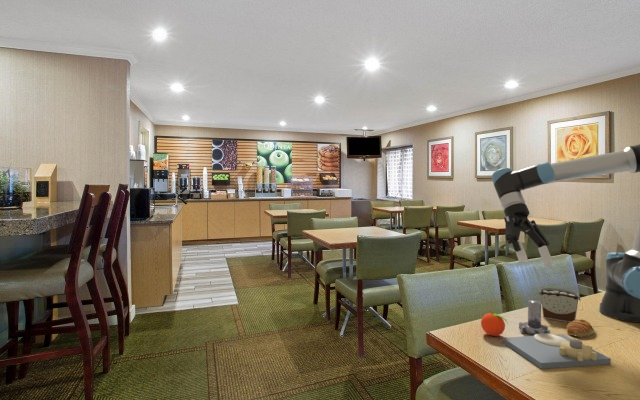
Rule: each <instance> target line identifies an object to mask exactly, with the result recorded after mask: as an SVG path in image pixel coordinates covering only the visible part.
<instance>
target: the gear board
mask: <svg viewBox="0 0 640 400" xmlns="http://www.w3.org/2000/svg"><path fill="white" fill-rule="evenodd" d="M502 343H503V345H506V346H507V347H509V348H510V349H512V350H513V351H515V352H516V353H518V354H519V355H520V356H522V357H524V359H526V360H527V361H529V362H530V363H532V364H534V365H535V366H536V367H538V368H540V370H542V369H555V368H556V369H557V368H559V369H560V368H570V367H571V368H574V367H575V368H576V367H587V366H602V365H603V366H604V365H605V366H606V365H611V364H612V363H611V360H612V359H611V357H608V356H607V355H604V354H603V353H601V352H599V351H597V350H595V349H593V346H592V345H589V344H587V345H586V344H584V343H583V341H581V340H579V339H573V338H571V337H570V336H567V335H565V334H561V333H560V334H552V333H550V334H546V333H539V334H535V335H534V336H532V335H526V336H524V335H523V336H509V337H508V336H506V337H502Z"/></svg>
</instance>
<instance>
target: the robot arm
mask: <svg viewBox="0 0 640 400" xmlns="http://www.w3.org/2000/svg"><path fill="white" fill-rule="evenodd" d="M623 172H624V173H625V172H629V173H631V174H635V173H640V143H639V144H636V145H632V146H626V147H625V148H624V149H623V150H618V151H613V152H608V153H603V154H602V153H601V154H596V155H593V156H592V155H590V156H586V157H580V158H575V159H570V160H565V161H559V162H553V163H552V162H551V163H550V162H548V161H544V162H541V163H537V164H534V165H531V166H528V167H525V168H522V169H519V170H514V171H513V170H512V168H510V167H502V168H499V169H496V170H495V171H493V173H492V174H491V179H492V183H493V187H494V189H495V192H496V194H497V197H498V199H499V201H500V204H501V207H502V209H503V212H504V215H505V217H504V218H503V219H504V223H505V228H504V229H505V240H506V241H507V243H508V244H509V245H512V247H513V249H514V251H515V254H516V257H517V259H518V262H519V263H522V262H525V261H528V260H529V259H528V256H527V253H526V250H525V247H524V245H523V242H522V241H521V240H520V236H521V232H522V233H524V234H525V235H527V236H528V237H529V238H530V239H531V240H532V241H533V243H535V244H536V246H537V247H538V248H537V250H538V252H539V256H540V257H541V260H542V262H543V265H544V266H545V267H549V266H551V265H553V264H554V261H553V259H552V255H551V254H550V251H549V249H548V247H547V246H550V242H549V240H548V239H547V238H546V236H545V234H543V232H542V231H541V230H540V228H539V227H538V225H537V223H536V221H535V220H529V218H528V217H529V215H530V210H529V208H528V206H527V204H526V201H525V199H524V196H523V193H522V191H524V190H525V191H526V190H527V189H531V188H535V187H538V186H541V185H542V186H543V185H549V184H555V183H560V182H566V181H572V180H573V181H574V180H579V179H580V180H581V179H585V178H591V177H599V176H605V175H611V174H617V173H623ZM605 266H606V267H605V293H604V294H603V297H602V299H601V302H600V303H599V310H598V311H599V312H600V313H601V314H602V315H604V316H606V317H610V318H613V319H617V320H621V321H626V322H633V323H640V219H639V220H638V225H637V229H636V232H635V235H634V240H633V243H632V248H631V249H629V250H626V251H625V252H616V251H615V252H608V253H607V254H606V258H605Z"/></svg>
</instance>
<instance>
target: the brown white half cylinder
mask: <svg viewBox="0 0 640 400" xmlns="http://www.w3.org/2000/svg"><path fill="white" fill-rule="evenodd" d="M538 296H540V299H541V301H540V302H541V312H542V318H544V319H548V320H549V319H550V320H554V319H555V321H560V320H562V321H561V322H566V321H568V322H567V323H570V322H572V321H574V320H576V319H577V318H576V317H577V312H578V304H579V302H581V297H580V294H579V293H577V292H575V291H572V290H569V289H565V288H564V289H563V288H557V287H544V288H541V289H540V290H539V293H538Z"/></svg>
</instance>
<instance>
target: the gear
mask: <svg viewBox="0 0 640 400" xmlns="http://www.w3.org/2000/svg"><path fill="white" fill-rule="evenodd" d="M527 303H528V304H527V308H528V309H527V322H522V321H520V322H518V329H520V330H519V331H520V332H519V333H522V334H526V335H527V336H534V335H535V334H539V333H546V334H551V330H550V329H549V326H548V325H544V324H542V302H541V301H540V300H534V299H529V300H528V301H527Z"/></svg>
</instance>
